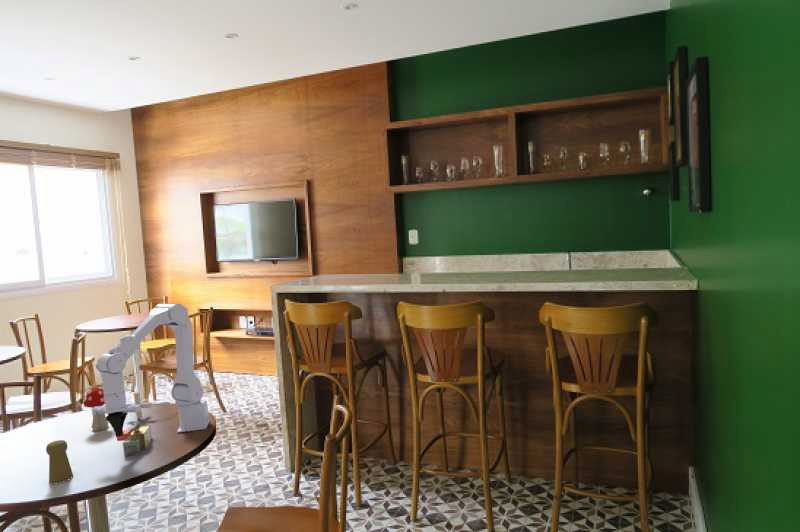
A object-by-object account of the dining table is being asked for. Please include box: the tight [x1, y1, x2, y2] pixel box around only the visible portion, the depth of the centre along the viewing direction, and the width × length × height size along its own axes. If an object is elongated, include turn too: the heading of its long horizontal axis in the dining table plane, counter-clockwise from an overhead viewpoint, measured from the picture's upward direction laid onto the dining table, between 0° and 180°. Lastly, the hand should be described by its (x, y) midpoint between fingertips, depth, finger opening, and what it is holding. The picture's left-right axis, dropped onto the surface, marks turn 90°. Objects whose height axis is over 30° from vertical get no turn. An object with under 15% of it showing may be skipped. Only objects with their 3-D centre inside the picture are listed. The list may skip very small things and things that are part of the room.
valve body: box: [122, 424, 153, 457], centre depth 183 cm, size 6×14×6 cm, turn 9°
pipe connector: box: [129, 391, 153, 420], centre depth 211 cm, size 10×10×10 cm
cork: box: [45, 439, 74, 484], centre depth 162 cm, size 6×6×11 cm
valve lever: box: [116, 421, 142, 442], centre depth 177 cm, size 12×3×1 cm, turn 2°
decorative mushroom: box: [83, 386, 109, 432], centre depth 204 cm, size 10×9×15 cm
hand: (119, 436), depth 174 cm, fingers closed, pressing on valve lever
